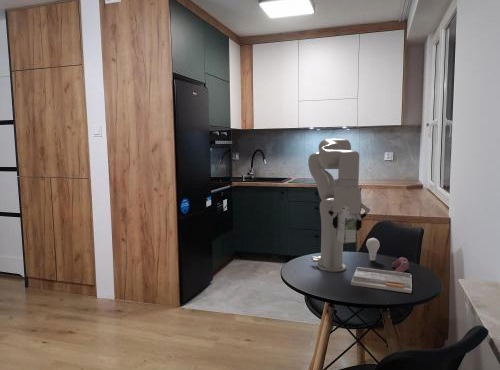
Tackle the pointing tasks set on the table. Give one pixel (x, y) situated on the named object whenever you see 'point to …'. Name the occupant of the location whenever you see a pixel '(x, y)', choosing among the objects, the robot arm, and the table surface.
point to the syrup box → (346, 226)
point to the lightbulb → (372, 247)
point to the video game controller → (401, 264)
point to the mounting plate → (384, 285)
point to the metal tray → (382, 276)
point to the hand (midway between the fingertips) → (346, 228)
